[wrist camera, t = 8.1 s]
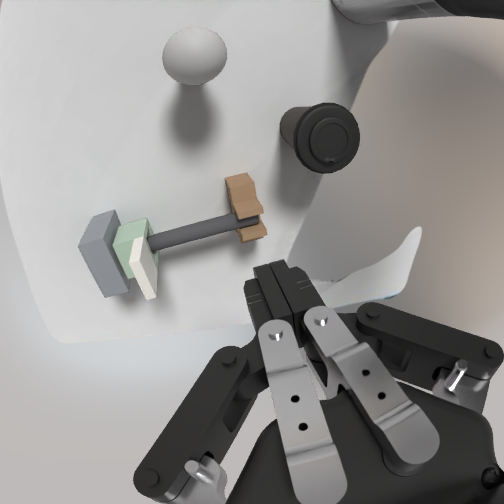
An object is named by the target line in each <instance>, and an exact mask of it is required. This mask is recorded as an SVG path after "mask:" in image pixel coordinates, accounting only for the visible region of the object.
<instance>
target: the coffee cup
mask: <svg viewBox="0 0 504 504" xmlns="http://www.w3.org/2000/svg"><path fill="white" fill-rule="evenodd" d="M280 131H281V134H282V136H283V137H284V139H285V140H286V141H287V142H288V143H289V144H290V145H291V147H292V148H293V149H294V150H295V152H296V155H297V157H298V159H299V160H300V161H301V163H302V164H303V165H304V166H305V167H307V168H308V169H310V170H311V171H314V172H317V173H321V174H325V173H333V172H336V171H338V170H341V169H342V168H344V167H345V166H347V165H348V164H349V163H350V162H351V161H352V159H353V158H354V156H355V155H356V153H357V150H358V147H359V142H360V132H359V128H358V124H357V122H356V120H355V118H354V116H353V115H352V113H350V112H349V111H348V110H347V109H346V108H345V107H343V106H340V105H338V104H336V103H321V104H318V105H315V106H312V107H295V108H292V109H290V110H288V111H287V112H286V113H285V114H284V115H283V117H282V119H281V122H280Z"/></svg>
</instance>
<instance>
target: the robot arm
mask: <svg viewBox="0 0 504 504" xmlns="http://www.w3.org/2000/svg"><path fill="white" fill-rule="evenodd" d="M332 1H333V3H334V5H335V6H336V8H337V9H338V10H339V12H341V13H342V14H343V15H344V16H345V17H346V18H348V19H349V20H351V21H353V22H355V23H359V24H373V23H380V22H388V21H396V20H405V19H414V18H428V17H446V16H471V17H480V18H495V19H502V20H504V0H332ZM253 271H254V276H255V278H254V279H251V280H247V281H245V285H244V293H245V297H246V301H247V305H248V309H249V313H250V316H251V319H252V322H253V325H254V328H255V331H256V335H255V337H254V339H253V340H252V341H251V342H250V343H249V344H247V345H245V346H244V347H242V348H239V347H236V346H227V347H223V348H221V349H219V350H218V351H217V352H216V353H215V354H214V355H213V357H212V358H211V360H210V361H209V363H208V364H207V366H206V367H205V369H204V370H203V372H202V373H201V375H200V376H199V378H198V379H197V381H196V382H195V384H194V386H193V387H192V388H191V390H190V391H189V393H188V394H187V396H186V397H185V399H184V400H183V402H182V404H181V405H180V406H179V408H178V409H177V411H176V412H175V414H174V415H173V417H172V418H171V420H170V421H169V423H168V424H167V426H166V427H165V429H164V430H163V432H162V433H161V434H160V436H159V437H158V439H157V440H156V442H155V443H154V445H153V446H152V448H151V449H150V450H149V452H148V453H147V455H146V456H145V458H144V459H143V460H142V462H141V463H140V465H139V466H138V468H137V469H136V471H135V473H134V477H133V481H134V485H135V487H136V489H137V490H138V492H140V493H141V494H142V495H144V496H146V497H149V498H151V499H152V500H154V501H156V502H159V503H162V504H504V471H503V470H502V469H501V468H500V467H499V466H498V464H497V461H496V457H495V453H494V445H493V433H492V428H491V426H490V424H489V422H488V420H487V419H486V418H485V417H484V416H483V415H482V412H483V408H484V404H485V400H486V396H487V392H488V387H489V383H490V379H491V378H492V376H493V375H494V374H495V372H496V371H497V369H498V368H499V367H500V365H501V364H502V362H503V359H504V353H503V350H502V348H501V347H500V345H499V344H497V343H496V342H494V341H491V340H488V339H485V338H482V337H479V336H476V335H473V334H470V333H467V332H464V331H461V330H458V329H455V328H452V327H448V326H446V325H442V324H440V323H436V322H433V321H430V320H427V319H424V318H421V317H418V316H415V315H412V314H409V313H406V312H403V311H400V310H397V309H394V308H391V307H388V306H385V305H382V304H379V303H375V302H370V303H365V304H363V305H361V306H360V307H359V308H358V310H357V313H347V314H342V313H336V312H335V311H334V310H333V309H331V308H329V307H326V305H325V304H324V302H323V300H322V299H321V297H320V295H319V294H318V292H317V290H316V289H315V287H314V286H313V284H312V282H311V281H310V280H309V278H308V276H307V274H306V273H305V272H304V271H303V270H302V269H300V268H298V267H293V268H290V269H289V268H288V266H287V264H286V262H285V261H284V259H283V260H279V261H275V262H272V263H269V264H265V265H261V266H257V267H254V268H253ZM302 347H304V349H305V351H306V359H307V362H308V364H309V366H310V367H311V369H312V371H313V373H314V375H315V376H316V378H317V380H318V382H319V383H320V385H321V387H322V389H323V390H324V393H325V395H326V399H327V400H320V401H319V399H318V396H317V393H316V390H315V387H314V384H313V381H312V379H311V375H310V372H309V369H308V367H307V365H305V364H304V362H303V359H302V356H301V353H300V350H299V348H302ZM393 377H394V378H397V379H400V380H402V381H405V382H408V383H410V384H413V385H416V386H419V387H421V388H424V389H427V390H430V391H432V392H433V395H431V394H429V393H426V392H424V391H422V390H419V389H416V388H414V387H412V386H409V385H407V384H404V383H402V382H398V381H395V379H394V378H393ZM269 386H270V391H271V395H272V399H273V404H274V408H275V412H276V416H277V419H275V420H274V421H273V422H271V423H270V424H269V425H268V426H267V427H266V428H265V429H264V430H263V431H262V433H261V434H260V436H259V437H258V439H257V441H256V443H255V445H254V447H253V449H252V451H251V454H250V456H249V458H248V460H247V462H246V464H245V466H244V468H243V470H242V472H241V474H240V476H239V478H238V480H237V482H236V484H235V486H234V488H233V490H232V492H231V493H230V495H229V497H228V499H227V500H226V498H225V495H224V489H225V486H226V483H227V474H226V472H225V470H224V469H223V468H222V467H221V466H220V463H221V462H222V460H223V458H224V457H225V455H226V453H227V451H228V450H229V448H230V446H231V444H232V443H233V441H234V439H235V437H236V435H237V434H238V432H239V430H240V428H241V426H242V424H243V422H244V421H245V419H246V417H247V415H248V413H249V412H250V410H251V408H252V406H253V404H254V402H255V400H256V398H257V395H258V393H260V392H262V391H263V390H264V389H266V388H268V387H269Z"/></svg>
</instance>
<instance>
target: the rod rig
mask: <svg viewBox="0 0 504 504" xmlns="http://www.w3.org/2000/svg"><path fill="white" fill-rule="evenodd" d="M225 180H226V185H227V190H228V194H229V199H230V203H231V208H232V212H233V213H231V214H228V215H224V216H220V217H216V218H212V219H209V220H205V221H201V222H197V223H194V224H190V225H187V226H183V227H179V228H176V229H172V230H169V231H165V232H162V233H158V234H155V235H151V236H148V237H147V238H146V239H147V241H148V244H149V247H150V249H151V252H154V251H157V250H161V249H165V248H168V247H172V246H175V245H179V244H183V243H186V242H190V241H194V240H197V239H201V238H205V237H208V236H212V235H216V234H220V233H223V232H227V231H231V230H235V229H236V230H237V233H238V235H239V238H240V240H241V243H245V242H249V241H253V240H257V239H260V238H264V237H263V236H265V235H267V230H266V228H265V226H264V224H263V223H262V221H261V219H260V214H262V213H264V212H263V207H262V205H261V204H260V202H259V201H258V199H257V197H256V191H255V186H254V182H253V180H252V179H251V177H250V176H249V175H248V173H243V174H239V175H235V176H231V177H227V178H225ZM119 226H121V224H120V221H119V219H118V216H117V214H116V211H115V210H112V211H109V212H106V213H103V214H100V215H97V216H94V217H93V218H92V219H91V221H90V223H89V225H88V227H87V229H86V231H85V233H84V235H83V237H82V239H81V241H80V243H79V245H78V248H79V250H80V252H81V254H82V256H83V258H84V260H85V262H86V264H87V266H88V268H89V270H90V272H91V273H92V275H93V277H94V279H95V281H96V283H97V285H98V286H99V288H100V290H101V292H102V294H103V295H104V297H105V298H107V297H111V296H114V295H118V294H122V293H126V292H129V287H130V280H131V279H128V278H127V276H126V274H125V272H124V269H123V267H122V265H121V263H120V261H119V259H118V257H117V254H116V252H115V250H114V248H113V246H112V245H113V242H114V239H115V236H116V233H117V231H118V228H119Z"/></svg>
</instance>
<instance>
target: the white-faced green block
mask: <svg viewBox="0 0 504 504" xmlns="http://www.w3.org/2000/svg"><path fill="white" fill-rule="evenodd" d="M151 235H153V233H152V230H151V227H150V224H149V222H148V219H147V218H144V219H141V220H137V221H134V222H131V223H128V224H124V225H121V226H119V228H118V231H117V233H116V236H115V239H114V242H113V245H112V246H113V248H114V250H115V252H116V254H117V257H118V259H119V261H120V263H121V265H122V267H123V269H124V272H125V274H126V276H127V278H128V279H131V278H134V277H135V278H136V280H137V282H138V284H139V286H140V288H141V290H142V292H143V294H144V296H145V298H146V300H149V299H153V298H157V275H158V258H159V250H157V251H154V252H151V249H150V247H149V244H148V241H147V239H146V238H147V237H148V236H151Z"/></svg>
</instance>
